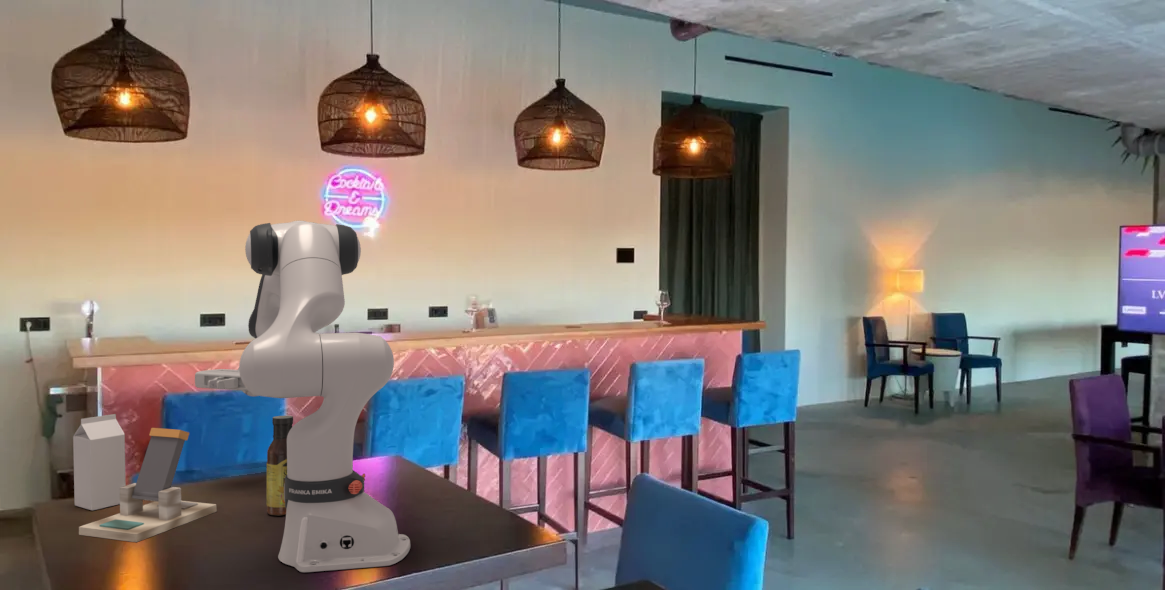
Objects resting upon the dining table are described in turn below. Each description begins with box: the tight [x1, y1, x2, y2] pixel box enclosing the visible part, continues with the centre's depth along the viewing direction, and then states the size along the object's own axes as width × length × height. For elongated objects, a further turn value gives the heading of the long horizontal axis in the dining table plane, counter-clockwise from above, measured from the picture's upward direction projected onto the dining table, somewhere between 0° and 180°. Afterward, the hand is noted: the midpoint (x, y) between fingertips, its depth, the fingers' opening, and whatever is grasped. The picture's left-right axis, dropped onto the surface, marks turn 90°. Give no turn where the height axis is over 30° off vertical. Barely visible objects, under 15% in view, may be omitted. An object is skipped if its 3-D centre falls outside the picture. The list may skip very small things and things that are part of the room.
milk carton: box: [72, 413, 127, 511], centre depth 174 cm, size 7×7×19 cm
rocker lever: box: [132, 427, 190, 502], centre depth 164 cm, size 3×7×14 cm, turn 72°
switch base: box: [78, 482, 218, 543], centre depth 162 cm, size 20×14×7 cm
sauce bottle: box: [265, 415, 294, 516], centre depth 168 cm, size 7×6×20 cm
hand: (212, 385), depth 177 cm, fingers closed
